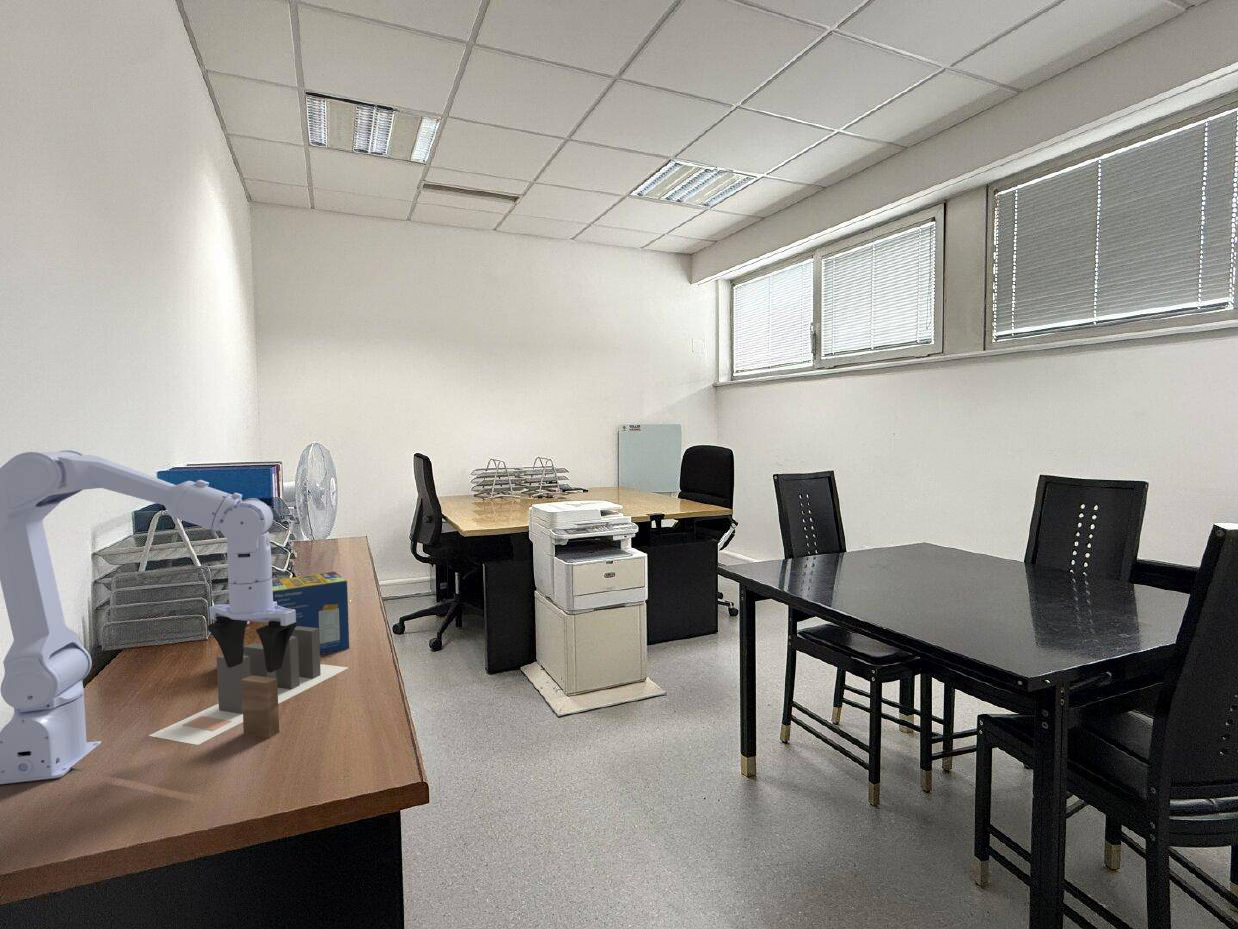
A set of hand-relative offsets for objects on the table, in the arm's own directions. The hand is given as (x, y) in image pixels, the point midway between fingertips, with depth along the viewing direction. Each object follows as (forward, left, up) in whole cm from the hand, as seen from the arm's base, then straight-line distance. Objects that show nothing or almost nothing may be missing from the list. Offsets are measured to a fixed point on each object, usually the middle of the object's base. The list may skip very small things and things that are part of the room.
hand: (254, 667), depth 94 cm
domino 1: (+9, +6, -10) cm, 15 cm away
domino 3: (-1, -1, -10) cm, 11 cm away
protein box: (+37, +3, -11) cm, 39 cm away
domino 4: (+17, +1, -10) cm, 20 cm away
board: (+13, +4, -10) cm, 17 cm away
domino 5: (+22, -1, -10) cm, 24 cm away
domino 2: (+13, +4, -10) cm, 17 cm away
